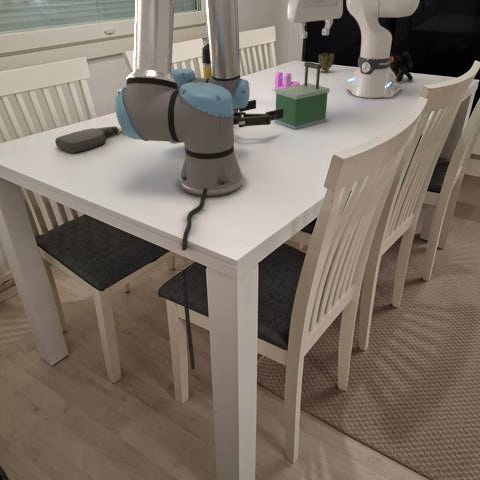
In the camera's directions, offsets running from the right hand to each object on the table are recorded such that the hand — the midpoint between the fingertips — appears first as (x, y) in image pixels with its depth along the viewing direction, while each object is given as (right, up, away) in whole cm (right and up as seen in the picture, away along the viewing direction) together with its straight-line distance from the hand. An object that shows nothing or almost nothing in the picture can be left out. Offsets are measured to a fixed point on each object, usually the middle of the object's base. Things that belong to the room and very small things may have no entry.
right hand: (314, 36), depth 140 cm
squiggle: (+49, +8, +61) cm, 78 cm away
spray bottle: (-67, -33, -1) cm, 75 cm away
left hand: (-14, -22, +3) cm, 26 cm away
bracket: (-2, +1, +52) cm, 52 cm away
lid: (-3, -15, +7) cm, 17 cm away
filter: (-35, -7, +39) cm, 53 cm away
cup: (+18, +18, +78) cm, 82 cm away
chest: (-3, -24, +12) cm, 27 cm away
